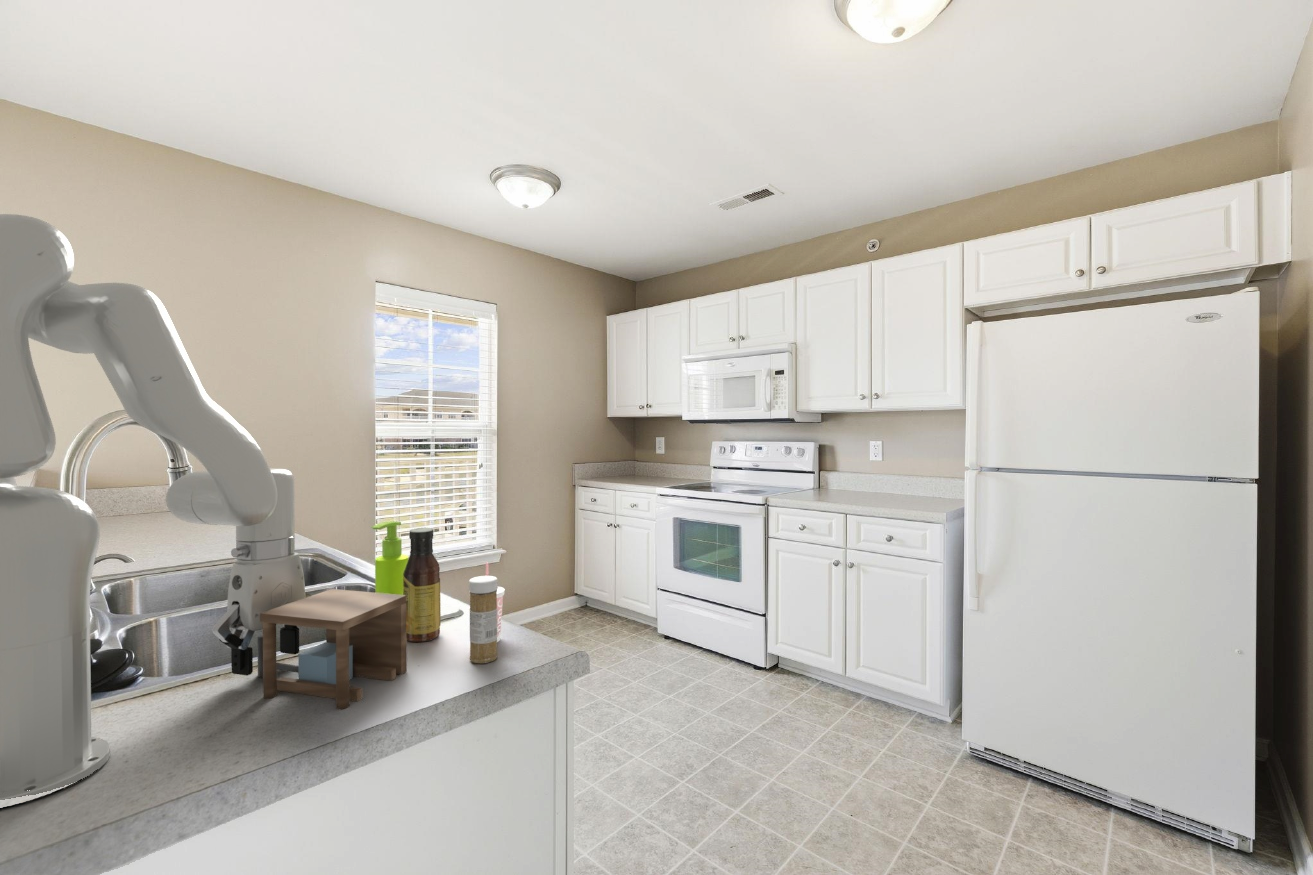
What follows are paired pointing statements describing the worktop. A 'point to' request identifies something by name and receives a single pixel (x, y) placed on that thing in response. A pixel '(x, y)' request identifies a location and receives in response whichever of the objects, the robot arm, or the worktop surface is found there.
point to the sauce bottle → (422, 588)
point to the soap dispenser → (390, 562)
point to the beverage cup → (499, 605)
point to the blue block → (311, 663)
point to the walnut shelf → (342, 640)
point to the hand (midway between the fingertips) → (266, 662)
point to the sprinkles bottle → (483, 619)
